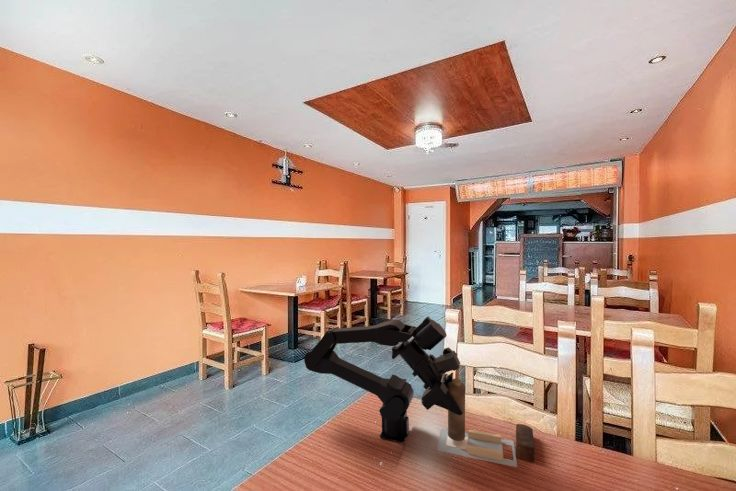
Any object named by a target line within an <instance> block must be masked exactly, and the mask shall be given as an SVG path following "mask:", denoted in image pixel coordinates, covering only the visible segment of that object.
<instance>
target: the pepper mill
mask: <svg viewBox="0 0 736 491" xmlns="http://www.w3.org/2000/svg"><path fill="white" fill-rule="evenodd" d="M449 385H450V394H451V395H452V397H453V398H454V400H455V401H456V403H457V404H458V405H459V407H460V408H461V410H462V412H463V414H462V415H457V414H455V413H453V412H451V411H449V410H447V429H448V436H449V438H451V439H452V440H455V441H462V440H464V439H465V432H466V384H465V383H463V382H462V380H461V379H459V378H453V379H452V382H449V383H448V386H449Z"/></svg>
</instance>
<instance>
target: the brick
mask: <svg viewBox="0 0 736 491" xmlns="http://www.w3.org/2000/svg"><path fill="white" fill-rule="evenodd" d="M534 443H535V442H534V432H533V428H532V427H531V426H528V425H526V424H523V423H521V424H520V423H516V425H515V454H516V459H517V460H518V459H519V460H523V461H528V462H531V463H533V462H534V463H535V444H534Z"/></svg>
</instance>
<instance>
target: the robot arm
mask: <svg viewBox="0 0 736 491" xmlns="http://www.w3.org/2000/svg"><path fill="white" fill-rule="evenodd" d="M447 336H448V335H447V332H446V330H445V328H443V326H442V325H441V324H440V323H439V322H437V321H435V320H433V319H431V317H430V316H426V317H425V318H424V319H423V320H422V322H421V323H420V324H419V325H418V326H414V325H410V324H405V323H403V322H402V321H401V320H400V319H396V318H395V319H391V320H386V321H384V322H380V323H378V324H374V325H367V326H365V325H364V326H352V327H342V328H341V327H332V328H331V329H329V330H327V331H326V332H325V333H324V335H323V336H322V338H321V339H320V340H319V341H318V342H317V344H316V345H315V346H314V347H313V348H312V349H311V350H309V351H307V353H306V354H305V355H304V357H303V360H304V361H303V362H304V365H305V368H306V369H307V370H309V371H310V372H313V373H318V374H323V375H329V374H330V375H334V376H335V377H338V378H339V379H341V380H344V381H346V382H347V383H350V384H352V385H354V386H356V387H358V388H360V389H362V390H364V391H366V392H369V393H370V394H372V395H375V396H376V397H377V398H378V399H379V400H380V401H381V403H382V405H381V406H380V408H379V414H380V418H381V432H380V434H379V438H380V439H382V440H388V441H393V442H397V443H404V442H405V439H406V437H408V435H409V432H410V421H409V419H410V418H409V416H408V414H407V413H408V409H409V407H410V404H411V403H412V400H413V398H414V396H415V392H414V388H413V386H412V384H411V383H409V382H408V381H407V379H406V378H403V377H402V378H401V377H399V376H398V375H396V374H392V375H391V376H390V377H389V378H384V377H382V376H379V375H376V374H375V373H372V372H371V371H368V370H366V369H363V368H362V367H359V366H357V365H355V364H353V363H351V362H348V361H347V360H344V359H342V358H340V357H339V355H338V354H337V353H336V351H335V350H334V349H336V347H337V345H338V344H339V345H341V344H355V343H356V344H357V343H358V344H359V343H373V344H374V343H375V344H377V345H380V346H386V347H387V346H388V347H392V348H391V352H392V354H391V359H392V360H395V359H396V358H397V357H398V356H400V357H401V359H402V360H403V361H404V362H405V363H406V365H407V366H408V367H409V368H410V369H411V370H412V373H411V374H412V376H413V377H414V378H415V377H416V376H417V377H418V378H419V380H421V382H422V383H423V388H424V391H423V394H422V396H421V405H422V406H423V407H424V409H425V410H427V411H429V410H430V409H432V408H433V407H434V406H436V407H440V408H442V409H445V410H447V411H448V410H449V411H451V412H453V413H455V414H457V415H462V414H463V412H462V410H461V408H460V407H459V405H458V404H457V403H456V401H455V400H454V398H453V397H452V395H451V394H450V385H449V386H448V383H449V382H452V379H454V372H452V371H457V370H459V369H460V365H461V361H460V360H459V358H458V353H457V352H456V351H455V350H452V349H451V348H450V347H449V346H448V347H445V348H443V350H442V354H440V355H439V356H437V357H436V356H435V355H434V354H431V353H430V354H428V353H427V352H426V350H428V351H432V350H433V349H434V348H435V347H436V346H437V345H438V344H440V343H441V342H442V341H443V340H444V339H445V338H447ZM399 343H400V344H399ZM397 345H398V346H397ZM449 372H451V373H449ZM448 373H449V374H448Z"/></svg>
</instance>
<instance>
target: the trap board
mask: <svg viewBox="0 0 736 491" xmlns="http://www.w3.org/2000/svg"><path fill="white" fill-rule="evenodd" d="M438 438H439V439H438V441H437V442H438V443H437V447H436V451H438V452H442V453H447V454H452V455H457V456H460V457H465V458H470V459H474V460H480V461H485V462H488V463H489V462H490V463H495V464H498V465H504V466H509V467H514V468H518V462H517V458H516V446H515V442H514V440H509V439H505V438H504V439H503V438H502V434H496V433H491V432H485V431H481V430H480V431H479V430H473V429H468V430H467V432H466V431H465V439H464V440H462V441H455V440H452V439H451V438H449V436H448V428H445V427H441V428H440V434H439V437H438ZM503 445H504V446H511V450H512V457H513V459H510V458H504V448H503Z"/></svg>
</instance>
